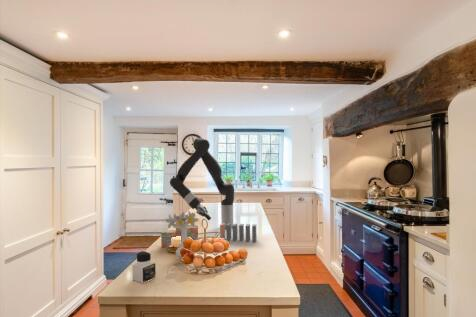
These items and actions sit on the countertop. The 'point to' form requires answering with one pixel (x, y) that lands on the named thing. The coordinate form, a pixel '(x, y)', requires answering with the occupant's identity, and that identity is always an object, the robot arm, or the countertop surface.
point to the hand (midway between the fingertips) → (210, 219)
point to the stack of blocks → (168, 234)
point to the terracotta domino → (222, 230)
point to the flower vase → (182, 226)
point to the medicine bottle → (144, 267)
